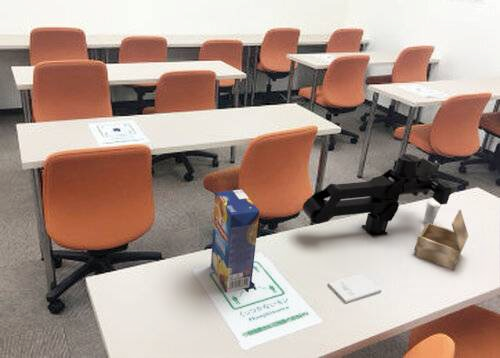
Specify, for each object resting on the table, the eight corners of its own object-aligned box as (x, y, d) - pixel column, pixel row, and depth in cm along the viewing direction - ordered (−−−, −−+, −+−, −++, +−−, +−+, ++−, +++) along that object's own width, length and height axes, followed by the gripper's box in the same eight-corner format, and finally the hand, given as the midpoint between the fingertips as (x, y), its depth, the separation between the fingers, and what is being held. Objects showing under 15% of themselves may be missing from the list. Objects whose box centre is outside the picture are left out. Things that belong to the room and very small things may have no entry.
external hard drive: (380, 294, 128) (345, 305, 122) (361, 276, 134) (326, 286, 129) (381, 289, 127) (346, 300, 122) (362, 271, 134) (327, 281, 128)
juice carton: (251, 287, 125) (259, 211, 114) (225, 292, 122) (231, 215, 111) (235, 261, 135) (241, 188, 124) (210, 265, 132) (215, 192, 121)
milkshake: (438, 228, 162) (445, 203, 157) (422, 225, 163) (429, 200, 158) (436, 221, 166) (443, 197, 161) (420, 218, 167) (427, 194, 162)
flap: (451, 223, 135) (453, 223, 135) (459, 209, 144) (460, 209, 143) (459, 251, 137) (461, 251, 136) (466, 236, 145) (468, 235, 145)
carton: (412, 255, 145) (418, 236, 142) (422, 239, 154) (427, 221, 151) (452, 271, 140) (459, 252, 136) (460, 253, 148) (467, 235, 145)
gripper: (435, 175, 141) (474, 172, 146) (398, 151, 157) (436, 149, 162) (425, 207, 146) (464, 203, 151) (391, 180, 162) (427, 177, 167)
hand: (447, 181), depth 158 cm, fingers open, 9 cm apart
